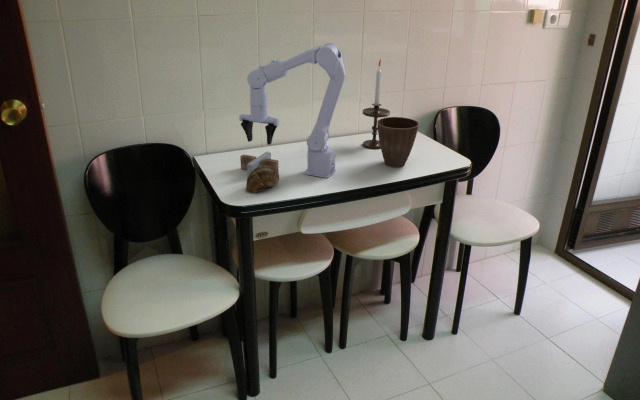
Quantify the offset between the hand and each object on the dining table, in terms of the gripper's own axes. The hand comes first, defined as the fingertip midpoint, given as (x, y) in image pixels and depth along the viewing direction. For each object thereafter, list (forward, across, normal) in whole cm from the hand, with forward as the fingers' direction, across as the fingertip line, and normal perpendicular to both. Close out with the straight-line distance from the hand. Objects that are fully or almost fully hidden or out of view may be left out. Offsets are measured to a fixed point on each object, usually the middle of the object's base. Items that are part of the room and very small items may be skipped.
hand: (259, 142), depth 182 cm
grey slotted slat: (+9, -2, +4) cm, 10 cm away
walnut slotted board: (+9, -2, +4) cm, 10 cm away
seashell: (+10, -9, +17) cm, 21 cm away
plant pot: (+10, -44, -24) cm, 51 cm away
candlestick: (+10, -31, -41) cm, 52 cm away
